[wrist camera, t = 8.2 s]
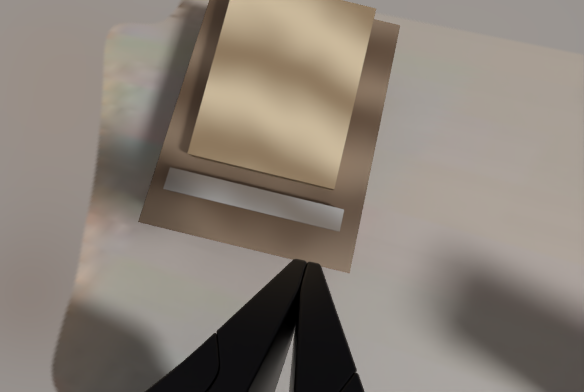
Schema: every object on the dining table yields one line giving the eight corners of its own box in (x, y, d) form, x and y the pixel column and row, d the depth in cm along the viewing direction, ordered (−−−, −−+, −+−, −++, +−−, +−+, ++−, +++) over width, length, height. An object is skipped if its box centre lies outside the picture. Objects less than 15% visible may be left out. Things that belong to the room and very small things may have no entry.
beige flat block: (335, 262, 21) (353, 276, 15) (170, 222, 21) (128, 221, 15) (377, 64, 23) (406, 14, 18) (229, 27, 23) (211, -34, 18)
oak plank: (331, 190, 17) (334, 189, 16) (194, 157, 17) (187, 153, 16) (370, 22, 18) (376, 8, 16) (240, -10, 18) (236, -26, 16)
